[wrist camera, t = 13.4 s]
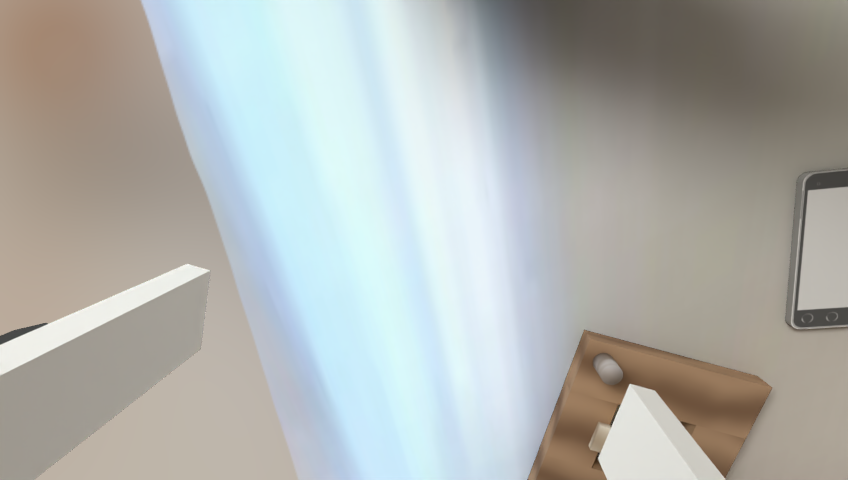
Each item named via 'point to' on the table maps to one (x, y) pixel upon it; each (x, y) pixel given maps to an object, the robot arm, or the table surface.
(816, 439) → the table surface
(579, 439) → the wooden slotted board
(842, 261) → the smartphone
